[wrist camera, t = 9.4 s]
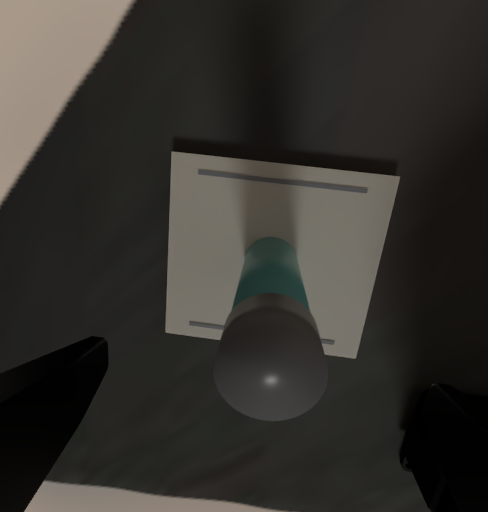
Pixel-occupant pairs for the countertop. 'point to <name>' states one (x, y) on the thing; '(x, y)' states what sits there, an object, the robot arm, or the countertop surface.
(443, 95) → the countertop surface
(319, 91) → the countertop surface
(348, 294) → the notepad
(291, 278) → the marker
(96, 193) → the countertop surface
